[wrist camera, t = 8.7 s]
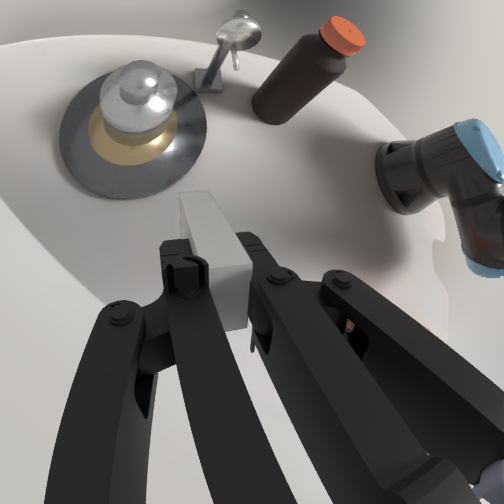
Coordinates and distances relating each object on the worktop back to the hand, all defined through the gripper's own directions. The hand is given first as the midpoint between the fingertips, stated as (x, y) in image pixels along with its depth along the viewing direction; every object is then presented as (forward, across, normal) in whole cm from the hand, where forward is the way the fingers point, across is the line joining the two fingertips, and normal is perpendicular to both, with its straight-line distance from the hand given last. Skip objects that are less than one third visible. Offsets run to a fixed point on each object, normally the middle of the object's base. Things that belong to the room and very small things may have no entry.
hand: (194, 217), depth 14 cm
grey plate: (+27, +5, -2) cm, 27 cm away
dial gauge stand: (+31, -6, -6) cm, 32 cm away
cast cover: (+26, +4, -4) cm, 27 cm away
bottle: (+31, -16, -4) cm, 35 cm away
